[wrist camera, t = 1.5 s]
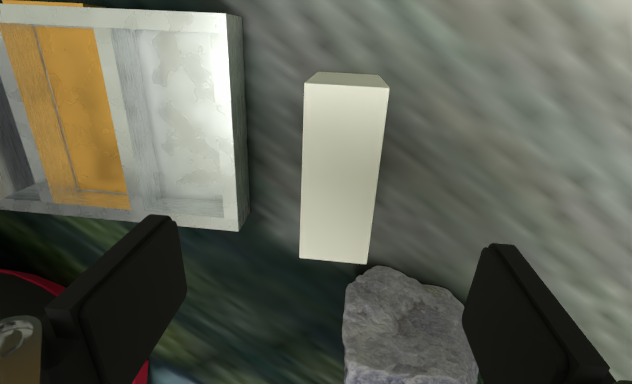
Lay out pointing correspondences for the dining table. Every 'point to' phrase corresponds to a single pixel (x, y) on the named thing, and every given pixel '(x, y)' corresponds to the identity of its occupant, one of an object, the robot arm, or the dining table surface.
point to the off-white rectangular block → (340, 164)
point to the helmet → (35, 300)
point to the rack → (123, 114)
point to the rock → (404, 332)
